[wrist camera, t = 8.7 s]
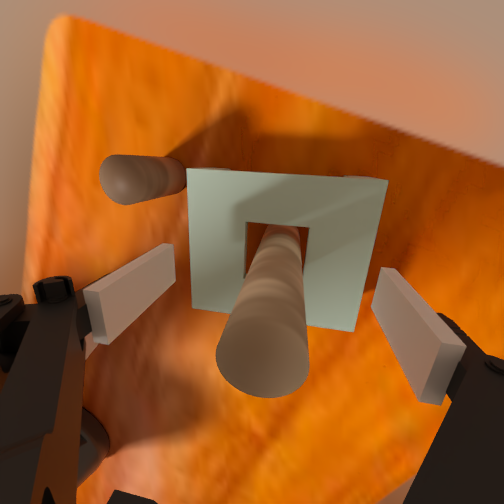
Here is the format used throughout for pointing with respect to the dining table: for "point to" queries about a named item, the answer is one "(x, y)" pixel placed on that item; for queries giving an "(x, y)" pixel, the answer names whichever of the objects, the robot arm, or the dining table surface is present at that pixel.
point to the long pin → (268, 321)
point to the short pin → (140, 178)
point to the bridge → (292, 214)
